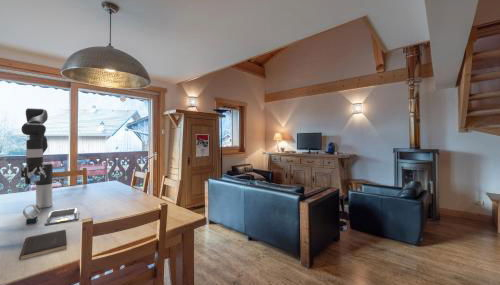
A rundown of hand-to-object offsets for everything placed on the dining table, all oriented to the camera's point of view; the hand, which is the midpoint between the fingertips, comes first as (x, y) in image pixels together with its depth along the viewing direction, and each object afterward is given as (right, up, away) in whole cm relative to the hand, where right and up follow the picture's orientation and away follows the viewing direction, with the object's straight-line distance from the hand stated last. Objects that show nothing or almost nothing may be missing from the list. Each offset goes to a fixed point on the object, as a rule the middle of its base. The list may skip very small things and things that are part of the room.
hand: (35, 182), depth 137 cm
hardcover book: (+30, -27, -26) cm, 48 cm away
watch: (-4, -26, +2) cm, 26 cm away
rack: (+10, -25, +9) cm, 28 cm away
